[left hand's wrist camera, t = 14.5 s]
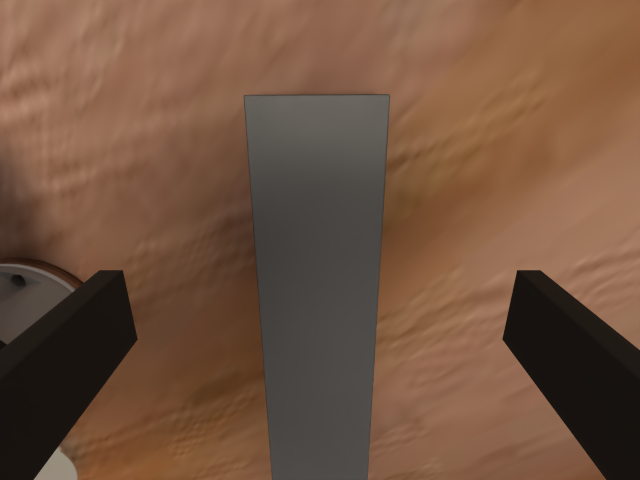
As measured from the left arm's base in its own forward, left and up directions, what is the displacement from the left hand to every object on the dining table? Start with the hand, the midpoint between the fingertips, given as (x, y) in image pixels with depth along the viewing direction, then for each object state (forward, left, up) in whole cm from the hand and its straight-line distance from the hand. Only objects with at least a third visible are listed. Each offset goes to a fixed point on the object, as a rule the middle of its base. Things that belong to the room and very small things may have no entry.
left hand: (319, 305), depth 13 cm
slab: (-17, -28, -23) cm, 40 cm away
